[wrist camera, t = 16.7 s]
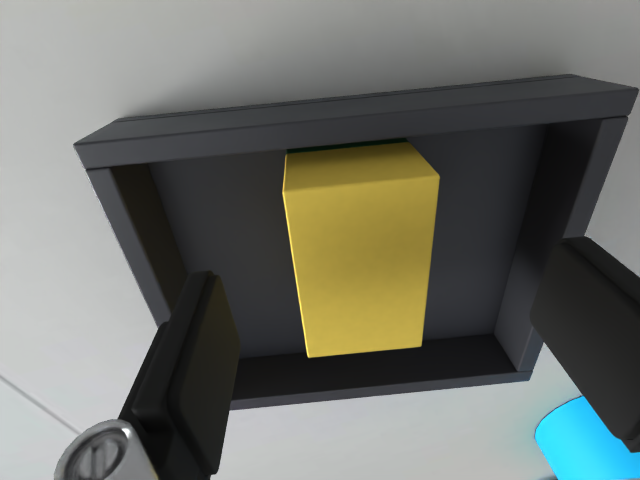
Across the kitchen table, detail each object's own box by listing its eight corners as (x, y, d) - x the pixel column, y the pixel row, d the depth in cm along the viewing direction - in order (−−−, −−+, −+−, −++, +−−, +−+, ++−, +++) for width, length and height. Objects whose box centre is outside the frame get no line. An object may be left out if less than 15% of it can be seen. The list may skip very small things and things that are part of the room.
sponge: (286, 146, 13) (281, 191, 10) (403, 134, 13) (441, 175, 10) (305, 290, 17) (307, 358, 13) (397, 281, 17) (422, 347, 13)
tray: (116, 118, 13) (70, 144, 10) (571, 73, 13) (642, 87, 10) (210, 362, 20) (197, 414, 17) (499, 334, 20) (529, 381, 17)
